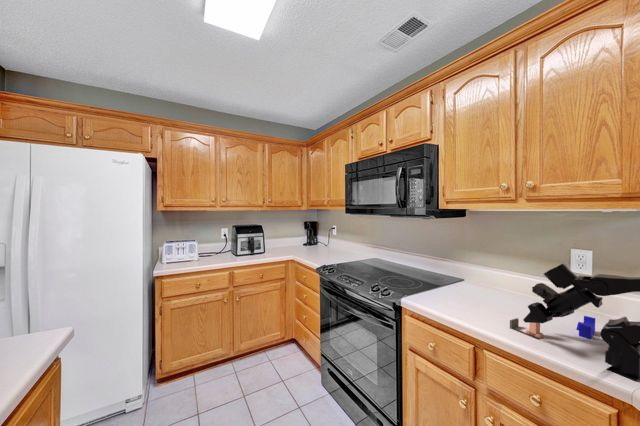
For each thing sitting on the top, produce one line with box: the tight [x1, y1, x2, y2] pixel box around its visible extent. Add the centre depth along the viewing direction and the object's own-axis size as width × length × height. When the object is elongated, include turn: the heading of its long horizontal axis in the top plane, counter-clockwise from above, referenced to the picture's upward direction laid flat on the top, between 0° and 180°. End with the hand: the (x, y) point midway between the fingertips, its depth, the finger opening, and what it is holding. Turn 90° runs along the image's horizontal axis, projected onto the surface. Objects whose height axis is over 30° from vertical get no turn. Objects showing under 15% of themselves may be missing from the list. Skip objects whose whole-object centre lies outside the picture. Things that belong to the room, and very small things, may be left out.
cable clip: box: [576, 315, 596, 340], centre depth 99 cm, size 12×4×6 cm, turn 128°
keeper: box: [525, 323, 544, 339], centre depth 96 cm, size 4×3×9 cm
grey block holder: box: [509, 317, 540, 340], centre depth 98 cm, size 10×5×4 cm, turn 24°
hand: (531, 318), depth 97 cm, fingers open, 9 cm apart
